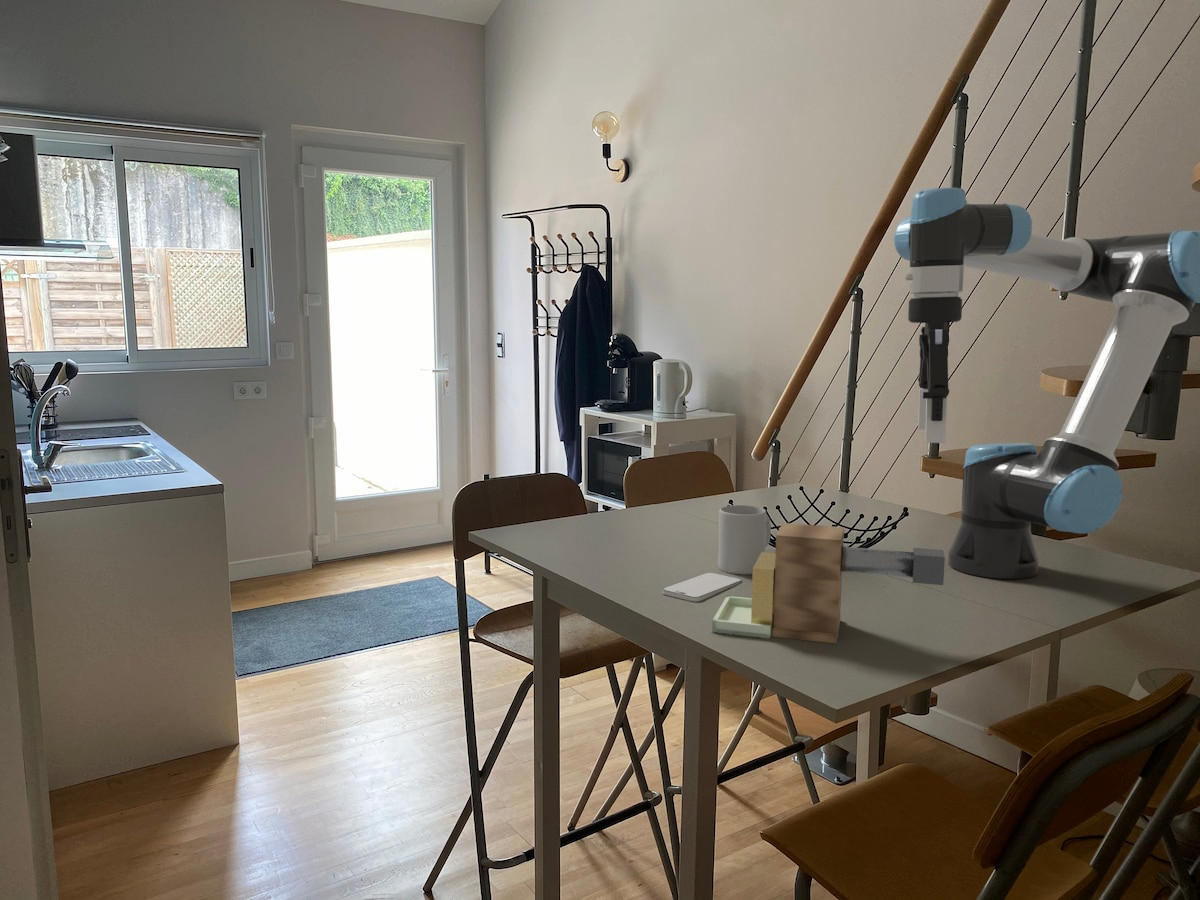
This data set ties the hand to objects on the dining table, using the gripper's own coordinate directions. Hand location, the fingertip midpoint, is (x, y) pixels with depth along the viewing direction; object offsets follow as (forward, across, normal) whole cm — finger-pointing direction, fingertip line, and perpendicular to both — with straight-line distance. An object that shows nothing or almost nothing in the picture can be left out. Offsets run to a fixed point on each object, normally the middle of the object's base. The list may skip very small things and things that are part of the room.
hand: (931, 435), depth 136 cm
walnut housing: (+27, +15, -18) cm, 35 cm away
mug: (+27, -16, -30) cm, 44 cm away
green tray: (+27, +14, -27) cm, 40 cm away
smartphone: (+27, -1, -36) cm, 45 cm away
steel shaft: (+18, +15, -9) cm, 25 cm away
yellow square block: (+26, +14, -24) cm, 38 cm away
